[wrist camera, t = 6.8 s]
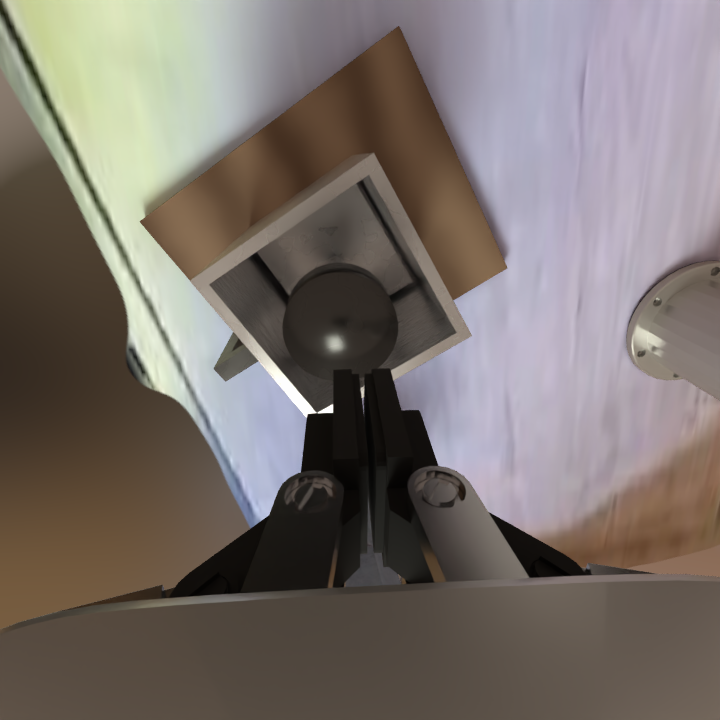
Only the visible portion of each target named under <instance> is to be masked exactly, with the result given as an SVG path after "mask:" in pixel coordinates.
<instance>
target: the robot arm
mask: <svg viewBox="0 0 720 720" xmlns="http://www.w3.org/2000/svg"><path fill="white" fill-rule="evenodd" d="M626 344H627V351H628V354H629V357H630V359H631V360H632V362H633V364H634V365H635V366H636V367H638V368H639V369H640V370H641V371H643V372H644V373H646V374H647V375H649V376H652V377H654V378H656V379H662V380H679V379H685V380H687V381H688V382H690V383H692V384H693V385H695V386H696V387H698V388H700V389H701V390H703V391H704V392H706V393H708V394H709V395H711V396H713V397H714V398H716V399H717V400H719V401H720V261H704V262H699V263H694V264H692V265H689V266H686V267H684V268H681V269H679V270H678V271H676V272H674V273H672V274H670V275H669V276H667V277H666V278H665V279H663V280H662V281H661V282H659V283H658V284H657V285H656V286H655V287H654V288H653V289H652V290H651V291H650V292H648V294H647V295H646V296H645V297H644V299H643V300H642V301H641V302H640V304H639V305H638V307H637V309H636V310H635V312H634V314H633V316H632V318H631V321H630V324H629V326H628V331H627V336H626ZM368 501H369V511H370V521H371V531H372V541H373V551H374V553H382V560H383V567H390V568H391V569H392V570H393V571H395V572H396V573H397V574H399V575H400V576H401V578H400V581H401V584H398V585H379V586H361V587H346V581H347V580H348V579H349V578H350V577H351V576H352V575H353V574H354V573H355V572H356V571H357V570H358V569H359V568H360V554H367V533H368ZM0 720H720V577H714V576H702V575H690V574H655V573H649V572H643V571H636V570H629V569H623V568H617V567H611V566H604V565H598V564H592V563H588V564H587V567H586V568H581V567H580V566H579V565H578V564H577V563H576V562H574V561H573V560H572V559H570V558H569V557H567V556H566V555H564V554H563V553H561V552H559V551H557V550H555V549H554V548H552V547H550V546H548V545H546V544H545V543H543V542H541V541H539V540H538V539H536V538H534V537H532V536H530V535H529V534H527V533H525V532H523V531H521V530H520V529H518V528H516V527H514V526H513V525H511V524H509V523H507V522H505V521H504V520H502V519H500V518H498V517H496V516H495V515H493V514H491V513H489V512H488V511H487V509H486V508H485V506H484V504H483V503H482V501H481V500H480V498H479V497H478V495H477V493H476V492H475V490H474V489H473V487H472V485H471V484H470V483H469V481H468V480H467V479H466V478H465V477H464V476H463V475H461V474H460V473H458V472H457V471H455V470H452V469H450V468H447V467H441V466H438V464H437V461H436V458H435V455H434V452H433V449H432V446H431V443H430V440H429V437H428V434H427V431H426V428H425V425H424V422H423V419H422V416H421V413H420V411H419V410H405V411H401V408H400V404H399V400H398V396H397V392H396V389H395V385H394V381H393V377H392V374H391V370H390V368H379V369H371V373H370V374H364V414H363V405H362V396H361V388H360V379H359V374H352V369H339V370H333V413H308V414H307V422H306V431H305V440H304V449H303V459H302V468H301V473H298V474H296V475H294V476H292V477H290V478H289V479H287V480H286V481H285V482H284V483H283V484H282V486H281V487H280V489H279V491H278V493H277V496H276V499H275V501H274V504H273V507H272V509H271V512H270V515H269V516H268V517H266V518H265V519H263V520H262V521H261V522H259V523H258V524H256V525H255V526H254V527H252V528H251V529H250V530H248V531H247V532H245V533H244V534H243V535H241V536H240V537H239V538H237V539H236V540H234V541H233V542H232V543H230V544H229V545H227V546H226V547H225V548H224V549H222V550H221V551H219V552H218V553H216V554H215V555H214V556H212V557H211V558H209V559H208V560H207V561H205V562H204V563H203V564H201V565H200V566H198V567H197V568H196V569H194V570H193V571H192V572H190V573H189V574H188V575H187V576H185V577H184V578H183V579H182V580H181V581H180V582H179V583H178V584H177V585H176V587H175V588H171V589H167V590H164V587H163V585H159V586H155V587H152V588H148V589H144V590H140V591H136V592H132V593H128V594H124V595H120V596H116V597H113V598H109V599H105V600H101V601H97V602H94V603H89V604H86V605H81V606H77V607H74V608H70V609H66V610H62V611H58V612H55V613H51V614H47V615H44V616H40V617H37V618H33V619H29V620H26V621H22V622H18V623H16V624H13V625H11V626H8V627H5V628H2V629H0Z"/></svg>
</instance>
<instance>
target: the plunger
mask: <svg viewBox="0 0 720 720" xmlns="http://www.w3.org/2000/svg"><path fill="white" fill-rule="evenodd" d="M257 253H258V254H259V256H260V257H261V258H262V260H263V261H264V262H265V264H266V265H267V266H268V268H269V269H270V270H271V272H272V273H273V274H274V276H275V277H276V278H277V280H278V281H279V282H280V284H281V285H282V286H283V288H284V289H285V291H286V292H287V293H288V295H289V299H288V303H287V306H286V310H285V314H284V318H283V326H282V330H283V338H284V342H285V345H286V348H287V350H288V352H289V354H290V355H291V357H292V358H293V360H294V361H295V362H296V363H297V364H298V365H299V366H300V367H301V368H302V369H303V370H305V371H306V372H308V373H310V374H311V375H314V376H316V377H318V378H321V379H324V380H329V381H333V370H339V369H352V374H359V378H362V377H364V374H370V373H371V369H378V368H379V367H380V366H381V365H382V364H383V363H384V362H385V361H386V360H387V359H388V357H389V356H390V354H391V352H392V351H393V349H394V346H395V344H396V340H397V336H398V319H397V314H396V311H395V308H394V306H393V304H392V301H391V299H390V297H389V296H390V295H391V294H393V293H395V292H396V291H398V290H400V289H401V288H403V287H404V286H406V285H408V284H409V283H411V282H413V281H412V280H411V278H410V276H409V274H408V273H407V271H406V269H405V267H404V266H403V264H402V262H401V261H400V259H399V257H398V255H397V254H396V252H395V250H394V248H393V247H392V245H391V243H390V241H389V240H388V238H387V236H386V234H385V233H384V231H383V229H382V227H381V226H380V224H379V222H378V221H377V219H376V217H375V215H374V214H373V212H372V210H371V208H370V207H369V205H368V203H367V201H366V200H365V198H364V196H363V194H362V193H361V191H360V189H359V187H358V186H357V184H354V185H353V186H351V187H350V188H349V189H347V190H346V191H344V192H343V193H341V194H340V195H338V196H337V197H335V198H334V199H333V200H331V201H330V202H328V203H327V204H325V205H324V206H322V207H321V208H319V209H318V210H317V211H315V212H314V213H312V214H311V215H309V216H308V217H306V218H305V219H303V220H302V221H301V222H299V223H298V224H296V225H295V226H293V227H292V228H290V229H289V230H287V231H286V232H285V233H283V234H282V235H280V236H279V237H277V238H276V239H274V240H273V241H271V242H270V243H269V244H267V245H266V246H264V247H263V248H261V249H260V250H258V251H257Z"/></svg>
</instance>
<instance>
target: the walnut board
mask: <svg viewBox="0 0 720 720" xmlns="http://www.w3.org/2000/svg"><path fill="white" fill-rule="evenodd" d="M366 153H374V154H375V156H376V158H377V160H378V162H379V163H380V165H381V167H382V169H383V171H384V173H385V175H386V177H387V178H388V180H389V182H390V184H391V186H392V188H393V190H394V191H395V193H396V195H397V197H398V199H399V201H400V203H401V204H402V206H403V208H404V210H405V212H406V214H407V216H408V218H409V219H410V221H411V223H412V225H413V227H414V229H415V231H416V232H417V234H418V236H419V238H420V240H421V242H422V244H423V245H424V247H425V249H426V251H427V253H428V255H429V257H430V259H431V260H432V262H433V264H434V266H435V268H436V270H437V272H438V273H439V275H440V277H441V279H442V281H443V283H444V285H445V286H446V288H447V290H448V292H449V294H450V296H451V298H452V300H454V299H456V298H458V297H460V296H461V295H463V294H465V293H466V292H468V291H470V290H471V289H473V288H475V287H476V286H478V285H480V284H481V283H483V282H485V281H487V280H488V279H490V278H492V277H493V276H495V275H497V274H498V273H500V272H502V271H503V270H505V269H507V266H506V264H505V261H504V259H503V257H502V255H501V253H500V250H499V248H498V246H497V244H496V241H495V239H494V237H493V235H492V232H491V230H490V228H489V226H488V223H487V221H486V219H485V217H484V215H483V212H482V210H481V208H480V206H479V203H478V201H477V199H476V197H475V194H474V192H473V190H472V188H471V185H470V183H469V181H468V179H467V176H466V174H465V172H464V170H463V168H462V165H461V163H460V161H459V159H458V156H457V154H456V152H455V150H454V147H453V145H452V143H451V141H450V138H449V136H448V134H447V132H446V130H445V127H444V125H443V123H442V121H441V118H440V116H439V114H438V112H437V109H436V107H435V105H434V103H433V100H432V98H431V96H430V94H429V92H428V89H427V87H426V85H425V83H424V80H423V78H422V76H421V74H420V71H419V69H418V67H417V65H416V62H415V60H414V58H413V56H412V54H411V51H410V49H409V47H408V45H407V42H406V40H405V38H404V36H403V33H402V31H401V29H400V27H399V26H398V27H397V28H395V29H394V30H393V31H391V32H390V33H389V34H387V35H386V36H385V37H383V38H382V39H381V40H379V41H378V42H377V43H376V44H374V45H373V46H372V47H370V48H369V49H368V50H366V51H365V52H364V53H362V54H361V55H360V56H358V57H357V58H356V59H354V60H353V61H352V62H350V63H349V64H348V65H346V66H345V67H344V68H342V69H341V70H340V71H338V72H337V73H336V74H334V75H333V76H332V77H330V78H329V79H328V80H327V81H325V82H324V83H323V84H321V85H320V86H319V87H317V88H316V89H315V90H313V91H312V92H311V93H309V94H308V95H307V96H305V97H304V98H303V99H301V100H300V101H299V102H297V103H296V104H295V105H293V106H292V107H291V108H289V109H288V110H287V111H285V112H284V113H283V114H281V115H280V116H279V117H278V118H276V119H275V120H274V121H272V122H271V123H270V124H268V125H267V126H266V127H264V128H263V129H262V130H260V131H259V132H258V133H256V134H255V135H254V136H252V137H251V138H250V139H248V140H247V141H246V142H244V143H243V144H242V145H240V146H239V147H238V148H236V149H235V150H234V151H232V152H231V153H230V154H229V155H227V156H226V157H225V158H223V159H222V160H221V161H219V162H218V163H217V164H215V165H214V166H213V167H211V168H210V169H209V170H207V171H206V172H205V173H203V174H202V175H201V176H199V177H198V178H197V179H195V180H194V181H193V182H191V183H190V184H189V185H187V186H186V187H185V188H183V189H182V190H181V191H180V192H178V193H177V194H176V195H174V196H173V197H172V198H170V199H169V200H168V201H166V202H165V203H164V204H162V205H161V206H160V207H158V208H157V209H156V210H154V211H153V212H152V213H150V214H149V215H148V216H146V217H145V218H144V219H142V220H141V221H140V223H141V224H142V225H143V226H144V227H145V229H146V230H147V231H148V232H149V233H150V234H151V236H152V237H153V238H154V239H155V240H156V241H157V243H158V244H159V245H160V246H161V247H162V248H163V250H164V251H165V252H166V253H167V254H168V255H169V257H170V258H171V259H172V260H173V261H174V262H175V264H176V265H177V266H178V267H179V268H180V269H181V271H182V272H183V273H184V274H185V275H186V276H187V278H188V279H189V280H191V279H193V278H194V277H195V276H196V275H197V274H198V273H199V272H200V271H201V270H203V269H204V268H205V267H206V266H207V265H208V264H209V263H210V262H211V261H213V260H214V259H215V258H216V257H217V256H218V255H219V254H220V253H222V252H223V251H224V250H225V249H226V248H227V247H228V246H229V245H230V244H232V243H233V242H234V241H235V240H236V239H237V238H238V237H239V236H241V235H242V234H243V233H244V232H245V231H246V230H247V229H248V228H249V227H251V226H252V225H254V224H255V223H257V222H258V221H259V220H261V219H262V218H264V217H265V216H266V215H268V214H269V213H271V212H272V211H274V210H275V209H276V208H278V207H279V206H281V205H282V204H284V203H285V202H286V201H288V200H289V199H291V198H292V197H293V196H295V195H296V194H298V193H299V192H301V191H302V190H303V189H305V188H306V187H308V186H309V185H311V184H312V183H313V182H315V181H316V180H318V179H319V178H320V177H322V176H323V175H325V174H326V173H328V172H329V171H330V170H332V169H333V168H335V167H336V166H338V165H339V164H340V163H342V162H343V161H345V160H346V159H347V158H349V157H350V156H352V155H357V154H366Z"/></svg>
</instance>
